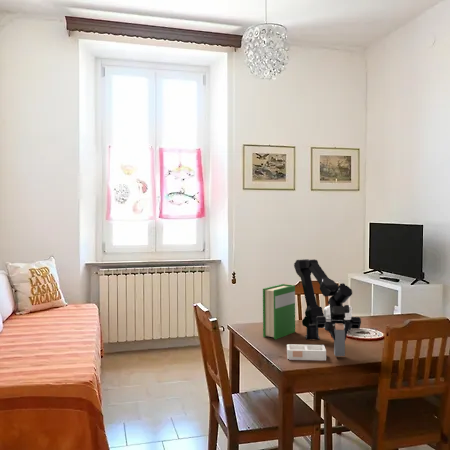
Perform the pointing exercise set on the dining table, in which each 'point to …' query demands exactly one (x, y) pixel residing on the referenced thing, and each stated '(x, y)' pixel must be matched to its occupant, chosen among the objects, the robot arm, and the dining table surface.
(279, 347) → the dining table surface
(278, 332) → the hardback book
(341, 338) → the gray rectangular block
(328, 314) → the cable organizer
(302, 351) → the socket strip
